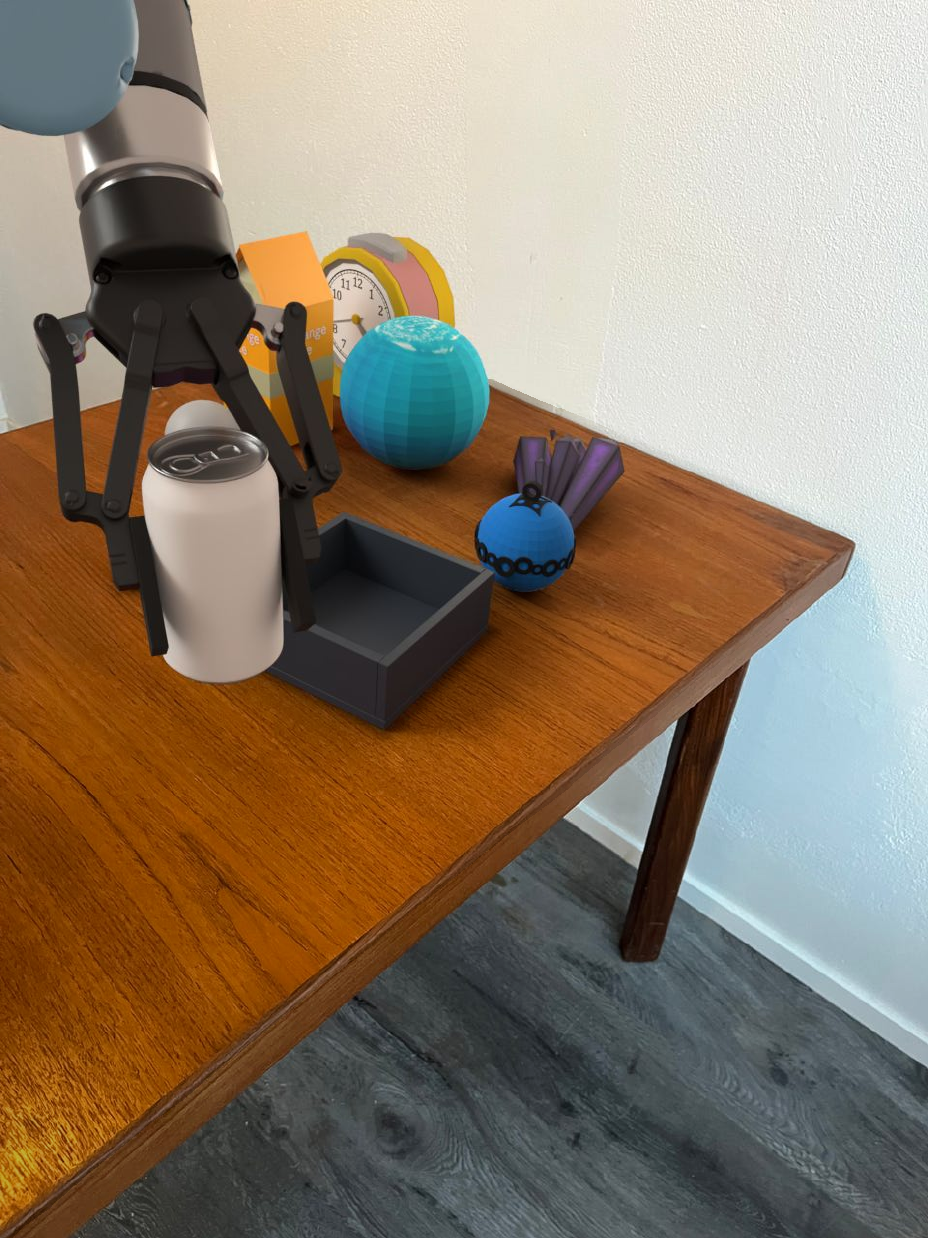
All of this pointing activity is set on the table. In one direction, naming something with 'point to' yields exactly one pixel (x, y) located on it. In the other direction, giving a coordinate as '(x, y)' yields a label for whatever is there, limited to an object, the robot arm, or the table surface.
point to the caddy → (382, 619)
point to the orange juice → (275, 281)
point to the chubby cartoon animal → (200, 416)
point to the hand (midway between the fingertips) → (234, 638)
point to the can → (216, 552)
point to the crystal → (569, 471)
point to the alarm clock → (381, 288)
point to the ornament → (525, 540)
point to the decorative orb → (414, 392)
